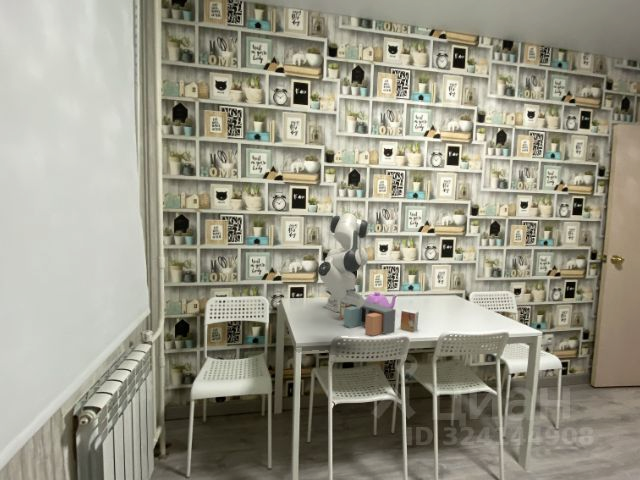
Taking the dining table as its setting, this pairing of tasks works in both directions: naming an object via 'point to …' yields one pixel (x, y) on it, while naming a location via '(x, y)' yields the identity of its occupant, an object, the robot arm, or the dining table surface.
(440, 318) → the dining table surface
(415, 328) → the small box
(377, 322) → the orange rounded block
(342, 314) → the baking soda box
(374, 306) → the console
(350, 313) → the teal rectangular block
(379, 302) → the teapot
